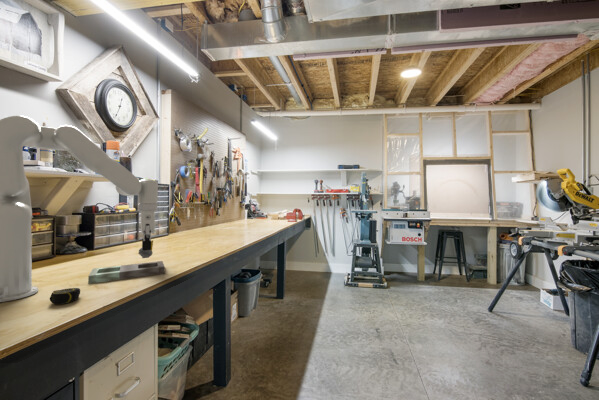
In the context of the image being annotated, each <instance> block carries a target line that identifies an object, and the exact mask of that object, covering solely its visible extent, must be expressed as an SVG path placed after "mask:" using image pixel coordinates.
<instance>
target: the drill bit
mask: <svg viewBox="0 0 599 400" xmlns="http://www.w3.org/2000/svg"><path fill="white" fill-rule="evenodd" d="M153 246H154V239H151V250H144V251H143V250H142V247H140V248H139V249H138V255H139V256H141V259H149V258H151V256H152V255H153V248H154V247H153Z"/></svg>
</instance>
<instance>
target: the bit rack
mask: <svg viewBox="0 0 599 400" xmlns="http://www.w3.org/2000/svg"><path fill="white" fill-rule="evenodd" d="M165 272H166V269H165V264H164V262H163V261H162V260H160V261H152V262H151V261H150V262H141V263H133V264H132V263H131V264H124V265H123V264H122V265H115V266H114V265H113V266H105V267H98V268H97V267H96V268H95V267H94V268H92V269H91V271H90V273H89V275H88V278H87V279H88V283H87V284H88V285H90V284H96V283H97V284H98V283H103V282H111V281H119V280H127V279H133V278H142V277H149V276H156V275H164V274H165Z"/></svg>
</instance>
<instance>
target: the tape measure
mask: <svg viewBox="0 0 599 400" xmlns="http://www.w3.org/2000/svg"><path fill="white" fill-rule="evenodd" d="M80 295H81V289H80V288H78V287H73V288H72V287H70V288H64V289H57V290H53V291H52V293H51V295H50V297H49V301H50V302H51V304H52V305H53V304H54V305H59V304H61V305H62V304H63V305H64V304H69V303H71V302H73V301H76V300H78V298H80Z"/></svg>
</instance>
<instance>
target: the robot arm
mask: <svg viewBox="0 0 599 400" xmlns="http://www.w3.org/2000/svg"><path fill="white" fill-rule="evenodd" d="M24 147H27V148H33V149H44V150H53V151H62V152H63V151H64V152H65V151H66V152H67V153H68V154H70V155H71V156H72V157H73V158H74V159H76V160H78V162H80V163H81V164H82V165H84V166H85V167H86V168H87V169H88V170H90V171H92V172H93V173H96V174H98V175H100V176H101V177H103V178H105V179H107V180H108V181H110V183H112V185H114V186H115V190H116V192H117V193H118V194H119V195H121V196H124V197H130V196H131V197H132V196H137V212H140V231H141V234H142V241H141V242H142V243H141V244H142V245H141V248H142V250H143V251H144V250H151V241H152V234H153V235H155V233H156V231H155V230H156V229H155V225H156V223H155V222H156V217H155V216H156V215H155V212H158V196H159V195H158V194H159V193H158V189H159V184H158V181H157V180H154V179H140V180H139V178H137V176H135V175H134V174H133V173H132V172H131V171H130V170H128V168H126V167H125V166H123V165H122V164H121V163H119V162H118V161H117V160H115V159H114V158H113V157H111V156H110V155H109V154H107V153H106V152H105V150H103V149H102V148H100V147H99V146H98V145H97V144H96V143H95V142H94V141H93V140H91V139H90V138H89V137H88V136H87V135H86V134H84V133H83V132H82V131H81V130H80V129H78V128H77V127H75V126H72V125H68V124H64V125H60V126H59V127H49V126H42V125H39V123H38V122H36V121H35V120H34V119H33V118H30V117H28V116H24V115H12V116H7V117H4V118H2V119H0V303H4V302H10V301H14V300H19V299H23V298H27V297H30V296H33V295H35V294H36V293H38V291H39V287H38V286H34V285H32V284H33V283H32V281H33V280H32V276H33V273H32V272H33V270H32V269H33V267H32V264H33V263H32V262H33V261H32V249H33V248H32V219H33V209H32V199H31V190H30V182H29V180H28V178H27V176H26V173H25V167H24V166H25V165H24V155H23V154H24V152H23V148H24Z"/></svg>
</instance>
